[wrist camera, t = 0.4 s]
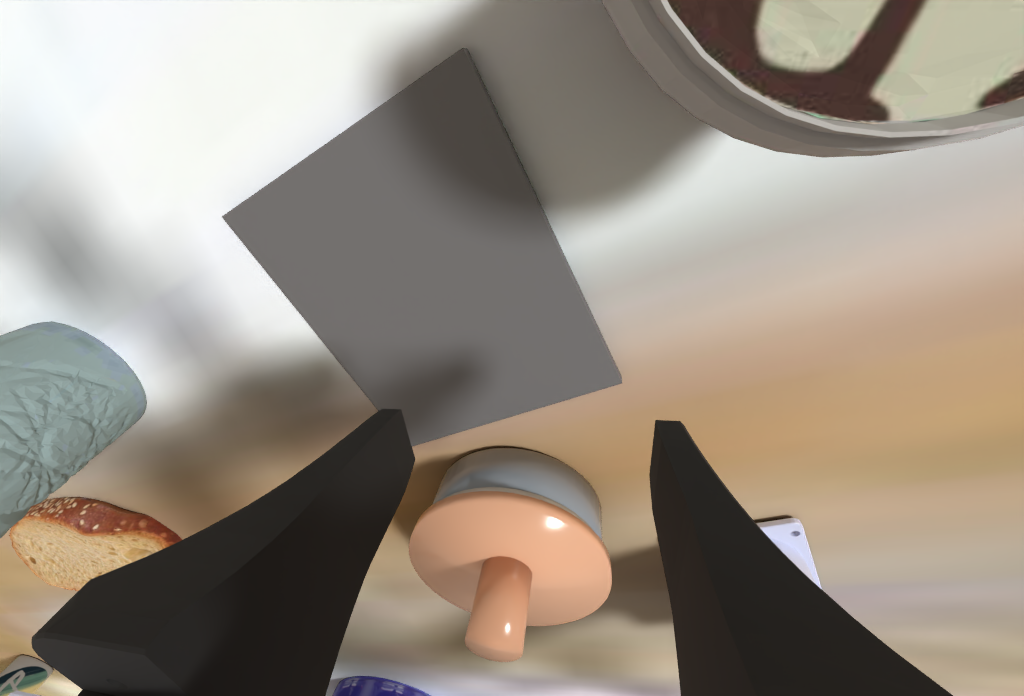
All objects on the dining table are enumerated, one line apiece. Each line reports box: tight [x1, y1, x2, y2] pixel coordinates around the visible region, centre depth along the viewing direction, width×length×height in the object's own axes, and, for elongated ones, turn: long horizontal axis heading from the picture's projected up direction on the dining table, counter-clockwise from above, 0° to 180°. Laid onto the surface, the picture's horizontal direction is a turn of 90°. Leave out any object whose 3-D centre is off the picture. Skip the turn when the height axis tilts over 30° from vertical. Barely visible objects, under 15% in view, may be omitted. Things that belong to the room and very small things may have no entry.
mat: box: [222, 48, 622, 446], centre depth 22 cm, size 16×14×1 cm
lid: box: [409, 491, 612, 662], centre depth 24 cm, size 12×12×5 cm
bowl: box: [432, 448, 602, 541], centre depth 27 cm, size 11×11×4 cm
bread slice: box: [9, 497, 182, 591], centre depth 42 cm, size 18×18×4 cm
